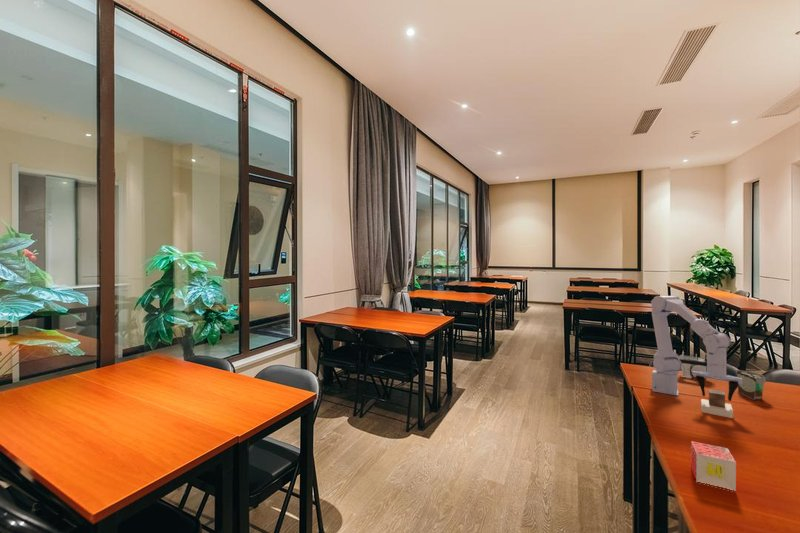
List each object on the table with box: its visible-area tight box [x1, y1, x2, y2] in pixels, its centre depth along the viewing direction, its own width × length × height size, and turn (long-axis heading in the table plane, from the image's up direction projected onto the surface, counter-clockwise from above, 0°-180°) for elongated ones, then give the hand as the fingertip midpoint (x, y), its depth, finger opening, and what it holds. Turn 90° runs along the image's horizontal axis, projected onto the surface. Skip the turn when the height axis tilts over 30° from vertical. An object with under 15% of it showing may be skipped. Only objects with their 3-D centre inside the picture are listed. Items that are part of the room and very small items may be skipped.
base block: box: [700, 398, 734, 419], centre depth 139 cm, size 9×9×3 cm
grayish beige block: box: [708, 388, 726, 408], centre depth 139 cm, size 5×5×5 cm
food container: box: [735, 369, 767, 401], centre depth 154 cm, size 12×6×10 cm, turn 168°
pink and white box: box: [690, 440, 737, 492], centre depth 96 cm, size 8×8×8 cm
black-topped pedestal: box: [678, 351, 707, 379], centre depth 179 cm, size 28×26×13 cm
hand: (716, 397), depth 139 cm, fingers open, 7 cm apart
